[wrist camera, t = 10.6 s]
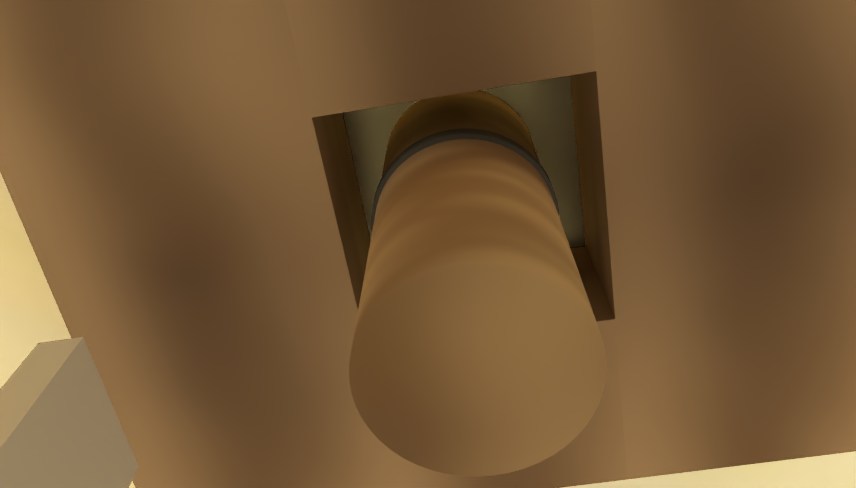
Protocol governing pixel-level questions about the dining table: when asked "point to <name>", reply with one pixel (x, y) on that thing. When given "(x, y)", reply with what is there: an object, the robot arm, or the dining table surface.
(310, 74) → the board
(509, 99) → the dining table surface
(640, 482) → the dining table surface
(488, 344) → the dowel
